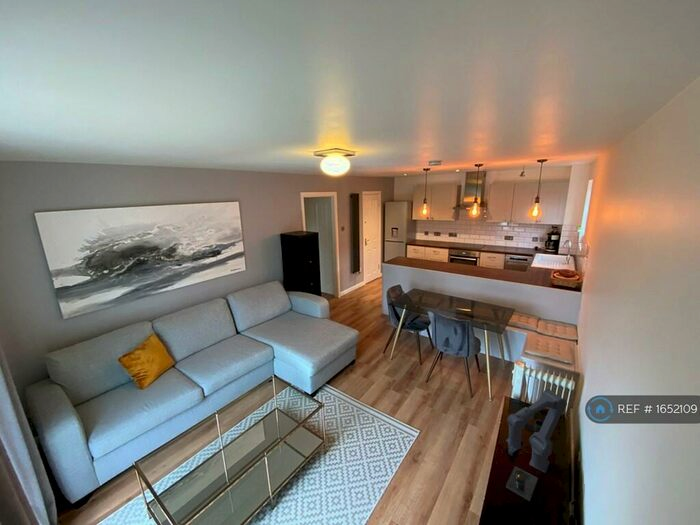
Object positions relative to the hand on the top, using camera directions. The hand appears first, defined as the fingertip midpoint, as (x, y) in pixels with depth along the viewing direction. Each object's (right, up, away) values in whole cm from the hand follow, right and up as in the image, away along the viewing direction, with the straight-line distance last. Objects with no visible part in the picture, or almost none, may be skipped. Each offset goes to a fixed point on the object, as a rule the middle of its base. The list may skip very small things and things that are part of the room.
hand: (514, 457), depth 159 cm
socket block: (+1, -11, -6) cm, 12 cm away
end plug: (-2, -9, -8) cm, 12 cm away
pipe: (+29, -2, +27) cm, 40 cm away
